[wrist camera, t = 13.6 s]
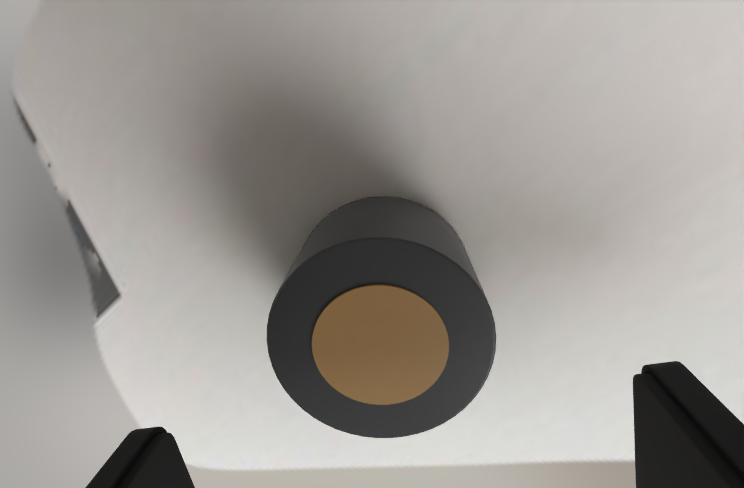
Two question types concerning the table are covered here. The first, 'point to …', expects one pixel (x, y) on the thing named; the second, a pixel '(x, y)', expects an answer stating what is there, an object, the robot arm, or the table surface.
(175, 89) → the table surface
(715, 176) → the table surface
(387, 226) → the tape
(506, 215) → the table surface
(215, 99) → the table surface
